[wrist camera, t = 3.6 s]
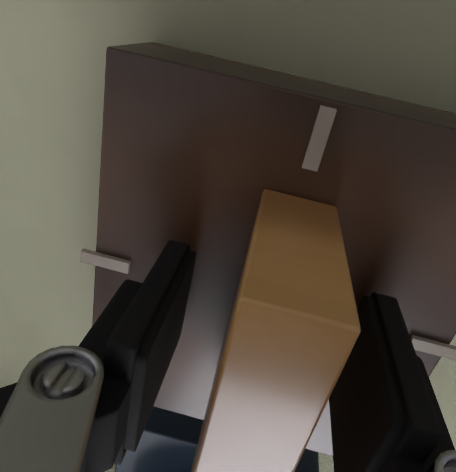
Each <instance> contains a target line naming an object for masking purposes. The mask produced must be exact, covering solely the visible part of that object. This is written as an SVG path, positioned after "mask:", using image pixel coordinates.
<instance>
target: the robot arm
mask: <svg viewBox="0 0 456 472" xmlns="http://www.w3.org/2000/svg"><path fill="white" fill-rule="evenodd" d="M195 259H196V252H195V251H191V250H190V245H189V244H186V243H182V242H178V241H174V240H169V241H168V243H167V244H166V246H165V247H164V249H163V251H162V252H161V254H160V256H159V257H158V259H157V260H156V262H155V264H154V265H153V267H152V268H151V270H150V272H149V273H148V275H147V277H146V278H145V280H144V281H143V283H141V282H137V281H133V280H129V279H126V280H125V281H124V282H123V283H122V285H121V286H120V287H119V289H118V290H117V292H116V293H115V295H114V296H113V297H112V299H111V300H110V302H109V303H108V305H107V306H106V308H105V309H104V310H103V312H102V313H101V315H100V316H99V318H98V319H97V320H96V322H95V323H94V325H93V326H92V328H91V329H90V330H89V332H88V333H87V335H86V336H85V338H84V339H83V341H82V342H81V343H80V345H79V346H59V347H55V348H51V349H48V350H46V351H44V352H42V353H40V354H38V355H37V356H36V357H34V358H33V359H32V360H31V361H29V363H28V364H27V366H26V367H25V369H24V370H23V372H22V374H21V376H20V378H19V380H18V382H17V383H15V384H12V385H8V386H5V387H2V388H0V472H105V471H107V470H109V469H111V468H112V467H113V464H114V463H115V464H118V465H121V463H122V461H123V458H124V456H125V454H126V451H127V450H129V451H132V452H135V451H136V449H137V447H138V444H139V442H140V439H141V437H142V434H143V431H144V429H145V426H146V424H147V421H148V419H149V416H150V413H151V411H152V408H153V406H154V403H155V401H156V398H157V395H158V393H159V390H160V388H161V385H162V383H163V380H164V377H165V375H166V372H167V370H168V367H169V365H170V362H171V360H172V357H173V354H174V352H175V349H176V347H177V344H178V341H179V339H180V335H181V332H182V327H183V322H184V317H185V311H186V306H187V301H188V296H189V291H190V285H191V280H192V275H193V270H194V265H195ZM357 313H358V318H359V323H360V328H361V332H360V334H359V336H358V338H357V340H356V342H355V344H354V346H353V349H352V351H351V353H350V355H349V357H348V359H347V361H346V363H345V366H344V368H343V370H342V372H341V374H340V376H339V378H338V380H337V382H336V385H335V387H334V389H333V391H332V393H331V395H330V397H329V408H330V421H331V435H332V448H333V462H334V472H456V450H455V448H454V446H453V443H452V440H451V437H450V435H449V432H448V429H447V426H446V424H445V421H444V418H443V415H442V413H441V410H440V407H439V404H438V402H437V399H436V396H435V393H434V391H433V388H432V385H431V382H430V380H429V377H428V374H427V371H426V369H425V366H424V363H423V361H422V359H421V358H420V357H418V356H417V355H416V352H415V349H414V346H413V344H412V341H411V338H410V335H409V332H408V329H407V327H406V324H405V321H404V318H403V315H402V312H401V309H400V307H399V304H398V301H397V299H396V298H394V297H390V296H387V295H383V294H379V293H375V292H373V293H372V294H371V295H370V296H369V297H368V296H363V297H362V298H361V300H360V303H359V305H358V307H357Z"/></svg>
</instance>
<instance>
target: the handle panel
mask: <svg viewBox="0 0 456 472" xmlns="http://www.w3.org/2000/svg"><path fill="white" fill-rule="evenodd" d="M265 189H268V190H272V191H276V192H280V193H284V194H288V195H292V196H296V197H300V198H304V199H308V200H312V201H316V202H320V203H324V204H328V205H332V206H335V207H336V208H337V211H338V216H339V221H340V226H341V231H342V236H343V241H344V247H345V252H346V257H347V262H348V267H349V272H350V277H351V282H352V287H353V292H354V297H355V302H356V307H358V305H359V303H360V300H361V298H362V297H363V296H368V297H369V296H370V295H371V294H372V293H373V292H375V293H379V294H383V295H387V296H390V297H394V298H396V299H397V301H398V304H399V307H400V309H401V312H402V315H403V318H404V321H405V324H406V327H407V329H408V332H409V335H410V338H411V341H412V344H413V346H414V349H415V352H416V355H417V356H418V357H420V358H421V359H422V361H423V363H424V366H425V369H426V371H427V374H428V377H429V376H430V374H431V373H432V371H433V369H434V368H435V366H436V364H437V363H438V361H439V360H440V358H441V357H444V358H448V359H452V360H456V346H453V345H449V344H450V342H451V340H452V339H453V337H454V336H455V334H456V114H454V113H450V112H446V111H442V110H437V109H433V108H429V107H425V106H420V105H416V104H412V103H408V102H403V101H399V100H395V99H391V98H386V97H382V96H378V95H374V94H369V93H365V92H361V91H357V90H353V89H348V88H344V87H340V86H336V85H331V84H327V83H323V82H319V81H314V80H310V79H306V78H302V77H297V76H293V75H289V74H285V73H280V72H276V71H272V70H268V69H263V68H259V67H255V66H251V65H247V64H242V63H238V62H234V61H230V60H225V59H221V58H217V57H213V56H208V55H204V54H200V53H196V52H191V51H187V50H183V49H179V48H174V47H170V46H166V45H162V44H157V43H153V42H149V43H140V44H130V45H120V46H111V47H107V53H106V72H105V92H104V111H103V131H102V150H101V169H100V189H99V208H98V227H97V247H96V252H95V251H91V250H87V249H83V250H82V251H81V262H84V263H88V264H92V265H96V266H95V286H94V305H93V324H92V326H93V325H94V323H95V322H96V320H97V319H98V318H99V316H100V315H101V313H102V312H103V310H104V309H105V308H106V306H107V305H108V303H109V302H110V300H111V299H112V297H113V296H114V295H115V293H116V292H117V290H118V289H119V287H120V286H121V285H122V283H123V282H124V281H125V280H126V279H129V280H133V281H137V282H141V283H143V281H144V280H145V278H146V277H147V275H148V273H149V272H150V270H151V268H152V267H153V265H154V264H155V262H156V260H157V259H158V257H159V256H160V254H161V252H162V251H163V249H164V247H165V246H166V244H167V243H168V241H169V240H174V241H178V242H182V243H186V244H189V245H190V250H191V251H195V252H196V259H195V265H194V270H193V275H192V280H191V285H190V291H189V296H188V301H187V306H186V311H185V317H184V322H183V327H182V332H181V335H180V339H179V341H178V344H177V347H176V349H175V352H174V354H173V357H172V360H171V362H170V365H169V367H168V370H167V372H166V375H165V377H164V380H163V383H162V385H161V388H160V390H159V393H158V395H157V398H156V401H155V403H154V407H157V408H161V409H165V410H168V411H172V412H175V413H179V414H183V415H186V416H190V417H193V418H197V419H200V420H204V416H205V412H206V408H207V404H208V400H209V396H210V392H211V388H212V384H213V380H214V376H215V372H216V368H217V365H218V361H219V357H220V353H221V349H222V346H223V342H224V338H225V334H226V330H227V326H228V323H229V319H230V315H231V311H232V307H233V303H234V300H235V296H236V292H237V288H238V284H239V281H240V277H241V273H242V269H243V265H244V261H245V258H246V254H247V250H248V246H249V242H250V238H251V235H252V231H253V227H254V223H255V219H256V215H257V212H258V208H259V204H260V200H261V196H262V193H263V191H264V190H265ZM305 449H308V450H312V451H315V452H319V453H322V454H326V455H330V456H333V448H332V435H331V421H330V408H329V399H328V402H327V404H326V406H325V408H324V410H323V412H322V414H321V416H320V418H319V421H318V423H317V425H316V427H315V429H314V431H313V433H312V435H311V438H310V440H309V442H308V444H307V446H306V448H305Z"/></svg>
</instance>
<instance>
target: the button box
mask: <svg viewBox="0 0 456 472" xmlns="http://www.w3.org/2000/svg"><path fill="white" fill-rule="evenodd" d="M202 425H203V420H200V419H197V418H193V417H190V416H186V415H183V414H179V413H175V412H172V411H168V410H165V409H161V408H157V407H154V406H153V408H152V411H151V413H150V416H149V419H148V421H147V424H146V426H145V429H144V431H143V434H142V437H141V439H140V442H139V444H138V447H137V449H136V451H135V452H132V451H129V450H127V451H126V454H125V456H124V458H123V461H122V463H121V465H118V464H116V468H115V472H191V469H192V465H193V461H194V457H195V453H196V449H197V445H198V441H199V437H200V433H201V429H202ZM294 472H319V463H318V452H315V451H312V450H308V449H305V450H304V452H303V455H302V457H301V459H300V461H299V463H298V465H297V467H296V469H295V471H294Z"/></svg>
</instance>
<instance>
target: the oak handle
mask: <svg viewBox="0 0 456 472" xmlns="http://www.w3.org/2000/svg"><path fill="white" fill-rule="evenodd" d="M360 332H361V328H360V323H359V318H358V313H357V307H356V302H355V297H354V292H353V287H352V282H351V277H350V272H349V267H348V262H347V257H346V252H345V247H344V241H343V236H342V231H341V226H340V221H339V216H338V211H337V208H336V207H335V206H332V205H328V204H324V203H320V202H316V201H312V200H308V199H304V198H300V197H296V196H292V195H288V194H284V193H280V192H276V191H272V190H268V189H265V190H264V191H263V193H262V196H261V200H260V204H259V208H258V212H257V215H256V219H255V223H254V227H253V231H252V235H251V238H250V242H249V246H248V250H247V254H246V258H245V261H244V265H243V269H242V273H241V277H240V281H239V284H238V288H237V292H236V296H235V300H234V303H233V307H232V311H231V315H230V319H229V323H228V326H227V330H226V334H225V338H224V342H223V346H222V349H221V353H220V357H219V361H218V365H217V368H216V372H215V376H214V380H213V384H212V388H211V392H210V396H209V400H208V404H207V408H206V412H205V416H204V420H203V425H202V429H201V433H200V437H199V441H198V445H197V449H196V453H195V457H194V461H193V465H192V469H191V472H294V471H295V469H296V467H297V465H298V463H299V461H300V459H301V457H302V455H303V452H304V450H305V448H306V446H307V444H308V442H309V440H310V438H311V435H312V433H313V431H314V429H315V427H316V425H317V423H318V421H319V418H320V416H321V414H322V412H323V410H324V408H325V406H326V404H327V402H328V399H329V397H330V395H331V393H332V391H333V389H334V387H335V385H336V382H337V380H338V378H339V376H340V374H341V372H342V370H343V368H344V366H345V363H346V361H347V359H348V357H349V355H350V353H351V351H352V349H353V346H354V344H355V342H356V340H357V338H358V336H359V334H360Z"/></svg>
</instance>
